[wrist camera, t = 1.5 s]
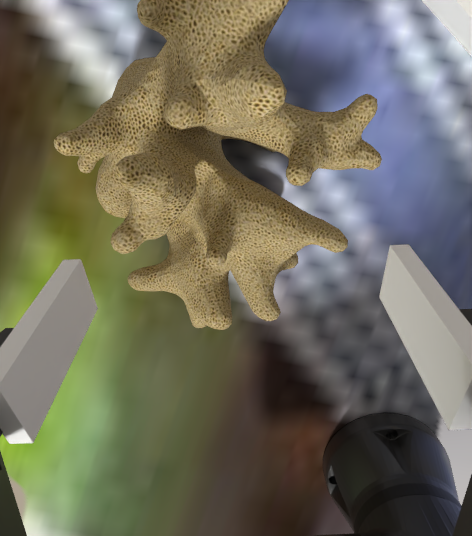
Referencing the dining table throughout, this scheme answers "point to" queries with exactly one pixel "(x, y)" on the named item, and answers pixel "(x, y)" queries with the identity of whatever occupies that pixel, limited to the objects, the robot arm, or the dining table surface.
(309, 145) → the decorative coral
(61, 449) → the dining table surface
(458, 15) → the tray
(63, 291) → the robot arm
